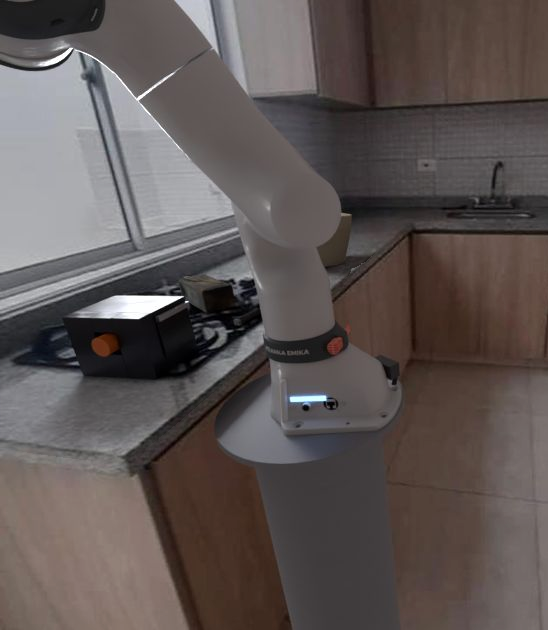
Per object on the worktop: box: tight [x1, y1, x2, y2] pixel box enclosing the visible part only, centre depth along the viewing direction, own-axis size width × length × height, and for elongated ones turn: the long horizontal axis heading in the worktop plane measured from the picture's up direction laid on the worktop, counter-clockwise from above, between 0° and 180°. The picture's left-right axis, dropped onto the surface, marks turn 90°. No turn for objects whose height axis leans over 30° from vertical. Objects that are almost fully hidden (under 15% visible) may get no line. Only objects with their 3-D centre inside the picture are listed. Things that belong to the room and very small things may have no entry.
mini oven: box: [61, 295, 199, 380], centre depth 85 cm, size 17×12×12 cm
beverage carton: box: [177, 274, 236, 314], centre depth 119 cm, size 8×19×7 cm, turn 44°
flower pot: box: [316, 212, 353, 268], centre depth 152 cm, size 19×19×17 cm
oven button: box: [92, 333, 120, 357], centre depth 80 cm, size 4×3×4 cm
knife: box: [232, 307, 262, 327], centre depth 111 cm, size 19×2×5 cm
